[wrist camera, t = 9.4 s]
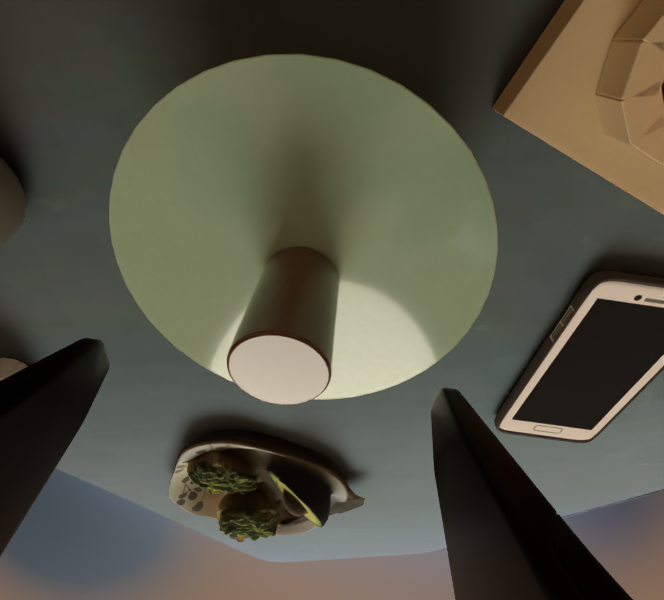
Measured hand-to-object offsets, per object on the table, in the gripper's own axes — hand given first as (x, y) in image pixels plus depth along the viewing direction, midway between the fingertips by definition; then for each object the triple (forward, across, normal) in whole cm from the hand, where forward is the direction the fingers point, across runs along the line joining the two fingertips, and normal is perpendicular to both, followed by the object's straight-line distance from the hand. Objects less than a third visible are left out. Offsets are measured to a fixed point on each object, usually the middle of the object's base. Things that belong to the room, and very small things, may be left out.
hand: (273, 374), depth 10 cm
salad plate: (+12, +2, +30) cm, 32 cm away
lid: (+5, 0, 0) cm, 5 cm away
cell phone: (+12, -20, +8) cm, 24 cm away
